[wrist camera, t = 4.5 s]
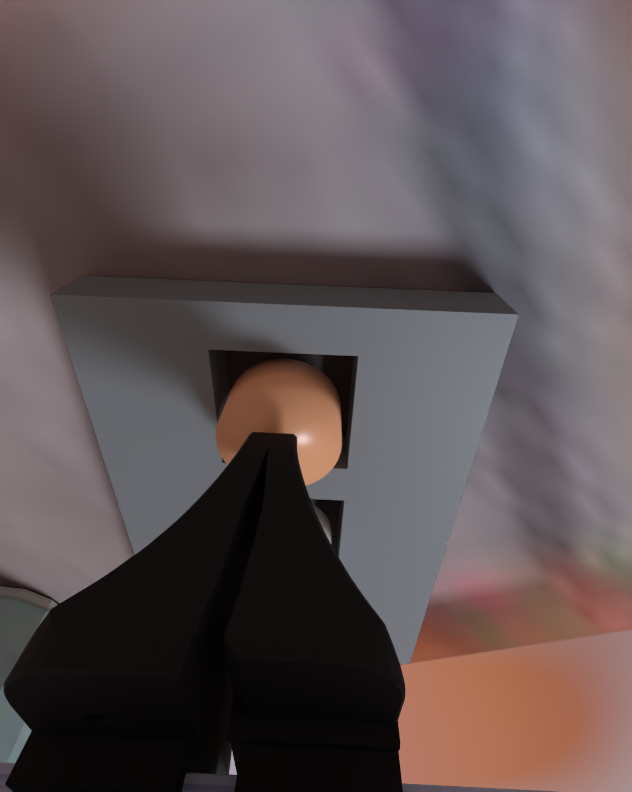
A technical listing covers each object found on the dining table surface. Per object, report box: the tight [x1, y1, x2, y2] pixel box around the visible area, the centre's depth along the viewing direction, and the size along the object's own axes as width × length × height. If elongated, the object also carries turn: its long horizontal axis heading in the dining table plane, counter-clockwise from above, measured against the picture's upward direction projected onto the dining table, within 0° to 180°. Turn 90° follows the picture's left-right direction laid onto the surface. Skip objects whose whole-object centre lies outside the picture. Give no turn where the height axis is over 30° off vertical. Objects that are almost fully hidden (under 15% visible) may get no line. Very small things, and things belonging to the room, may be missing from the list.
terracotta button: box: [216, 358, 342, 485], centre depth 14 cm, size 4×4×2 cm
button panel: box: [50, 276, 519, 664], centre depth 19 cm, size 14×21×2 cm, turn 178°
